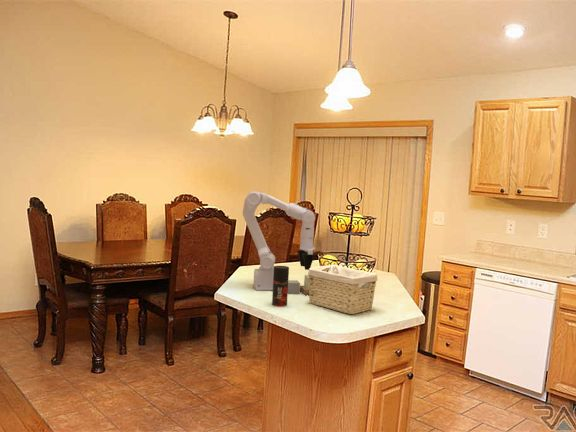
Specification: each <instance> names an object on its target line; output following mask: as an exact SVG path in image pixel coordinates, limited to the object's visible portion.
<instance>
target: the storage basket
mask: <svg viewBox="0 0 576 432" xmlns="http://www.w3.org/2000/svg"><path fill="white" fill-rule="evenodd" d="M307 275H309V294H310V295H309V296H308V297H309V303H310V304H311V305H315V306H319V307H323V308H326V309H330V310H333V311H338V312H341V313H344V314H349V315H355V314H359V313H363V312H365V311H369V310H371V309H373V303H374V297H375V291H376V290H375V289H376V285H377V281H378V274H377V273H375V272H370V271H366V270H365V271H364V270H359V269H355V268H351V267H345V266H342V265H337V264H335V263H334V264H327V265H319V266H313V267H311V268H309V270H308V273H307ZM312 294H313V295H312Z"/></svg>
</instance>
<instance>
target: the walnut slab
mask: <svg viewBox="0 0 576 432" xmlns="http://www.w3.org/2000/svg"><path fill="white" fill-rule="evenodd" d="M301 292H302V293H303V294H304V295H305V297H309V295H310V294H309V289H307V288H305V287H304V285H300V293H301ZM302 293H301V294H302ZM303 294H302V295H303ZM304 295H303V296H304ZM307 295H308V296H307ZM312 295H313V294H312Z"/></svg>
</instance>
